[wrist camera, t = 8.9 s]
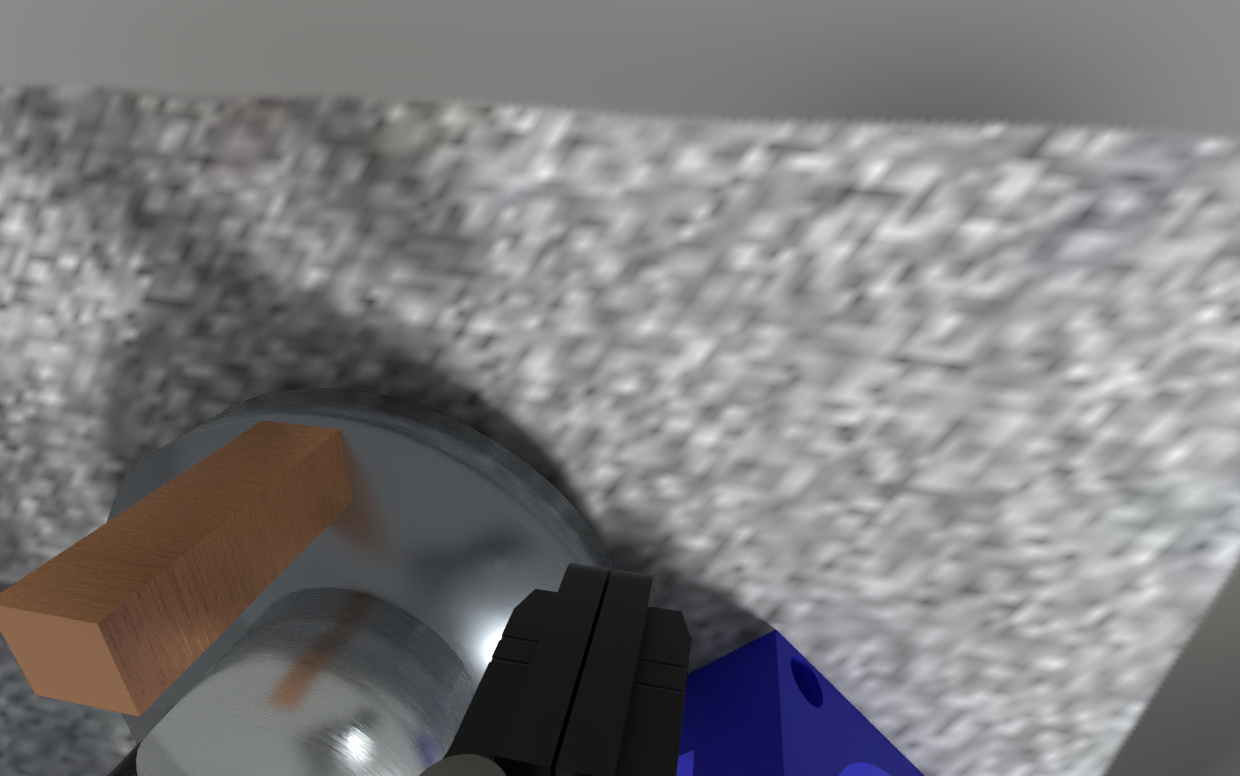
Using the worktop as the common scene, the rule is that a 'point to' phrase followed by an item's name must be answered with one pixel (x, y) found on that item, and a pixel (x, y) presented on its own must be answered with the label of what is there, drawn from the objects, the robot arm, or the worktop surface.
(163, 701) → the grey stand with block
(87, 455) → the worktop surface
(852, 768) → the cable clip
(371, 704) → the cover
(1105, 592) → the worktop surface
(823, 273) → the worktop surface
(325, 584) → the grey pot lid
